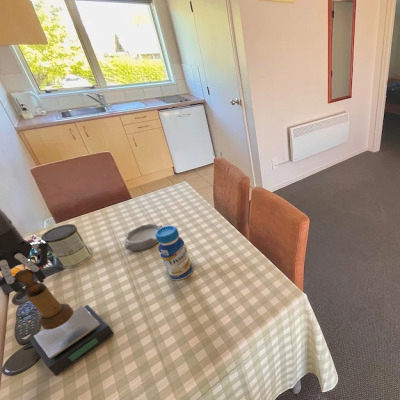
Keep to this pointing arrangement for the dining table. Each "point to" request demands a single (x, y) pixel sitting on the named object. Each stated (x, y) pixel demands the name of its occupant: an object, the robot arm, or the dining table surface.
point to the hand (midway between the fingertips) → (31, 285)
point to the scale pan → (67, 332)
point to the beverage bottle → (174, 253)
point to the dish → (142, 237)
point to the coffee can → (67, 245)
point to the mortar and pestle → (44, 302)
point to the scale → (75, 346)
